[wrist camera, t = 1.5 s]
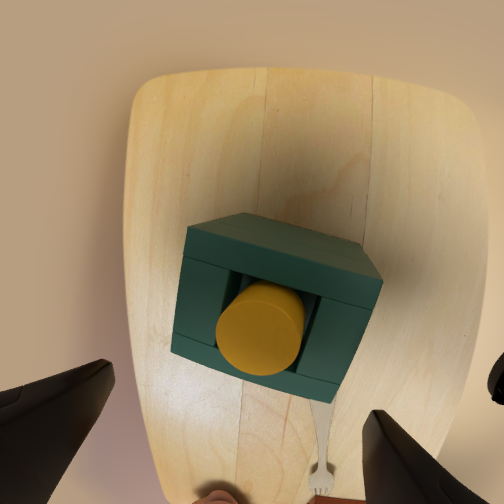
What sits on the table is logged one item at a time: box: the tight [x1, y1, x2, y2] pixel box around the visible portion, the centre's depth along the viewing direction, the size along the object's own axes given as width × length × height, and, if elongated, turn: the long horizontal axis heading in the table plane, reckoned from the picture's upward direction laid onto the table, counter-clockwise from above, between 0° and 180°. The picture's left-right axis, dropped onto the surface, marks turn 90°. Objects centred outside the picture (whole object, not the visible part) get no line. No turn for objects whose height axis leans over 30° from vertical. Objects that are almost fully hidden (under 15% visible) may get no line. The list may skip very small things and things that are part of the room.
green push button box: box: [171, 213, 383, 404], centre depth 18 cm, size 9×7×10 cm
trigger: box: [216, 280, 306, 376], centre depth 13 cm, size 4×4×3 cm
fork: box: [309, 395, 336, 495], centre depth 25 cm, size 3×21×3 cm, turn 8°
